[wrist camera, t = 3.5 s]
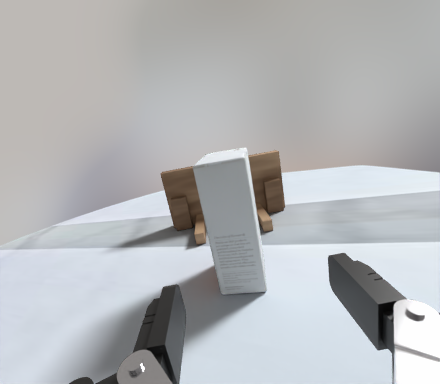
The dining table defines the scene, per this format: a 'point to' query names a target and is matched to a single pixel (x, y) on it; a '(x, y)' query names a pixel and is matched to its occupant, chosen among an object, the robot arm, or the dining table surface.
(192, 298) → the dining table surface
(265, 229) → the wooden stand
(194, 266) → the dining table surface
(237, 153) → the skincare box
